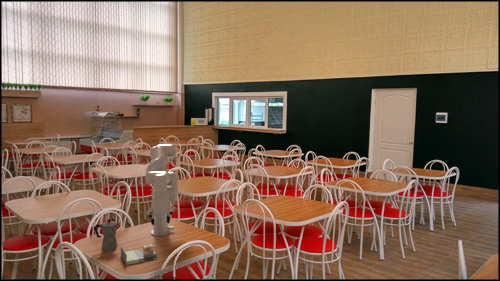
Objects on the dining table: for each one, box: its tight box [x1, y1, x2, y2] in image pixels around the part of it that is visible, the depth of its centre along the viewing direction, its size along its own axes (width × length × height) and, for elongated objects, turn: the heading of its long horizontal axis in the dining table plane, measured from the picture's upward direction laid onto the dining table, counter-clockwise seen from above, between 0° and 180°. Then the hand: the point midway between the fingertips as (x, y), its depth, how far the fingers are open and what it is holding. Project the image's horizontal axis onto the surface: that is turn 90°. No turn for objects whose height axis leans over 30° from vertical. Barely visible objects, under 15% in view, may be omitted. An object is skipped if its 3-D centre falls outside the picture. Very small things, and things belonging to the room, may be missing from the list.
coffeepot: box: [93, 218, 121, 251], centre depth 226 cm, size 15×9×18 cm, turn 119°
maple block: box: [142, 243, 154, 254], centre depth 216 cm, size 5×4×4 cm
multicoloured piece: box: [120, 245, 159, 266], centre depth 214 cm, size 18×14×6 cm
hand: (160, 223), depth 218 cm, fingers open, 8 cm apart
